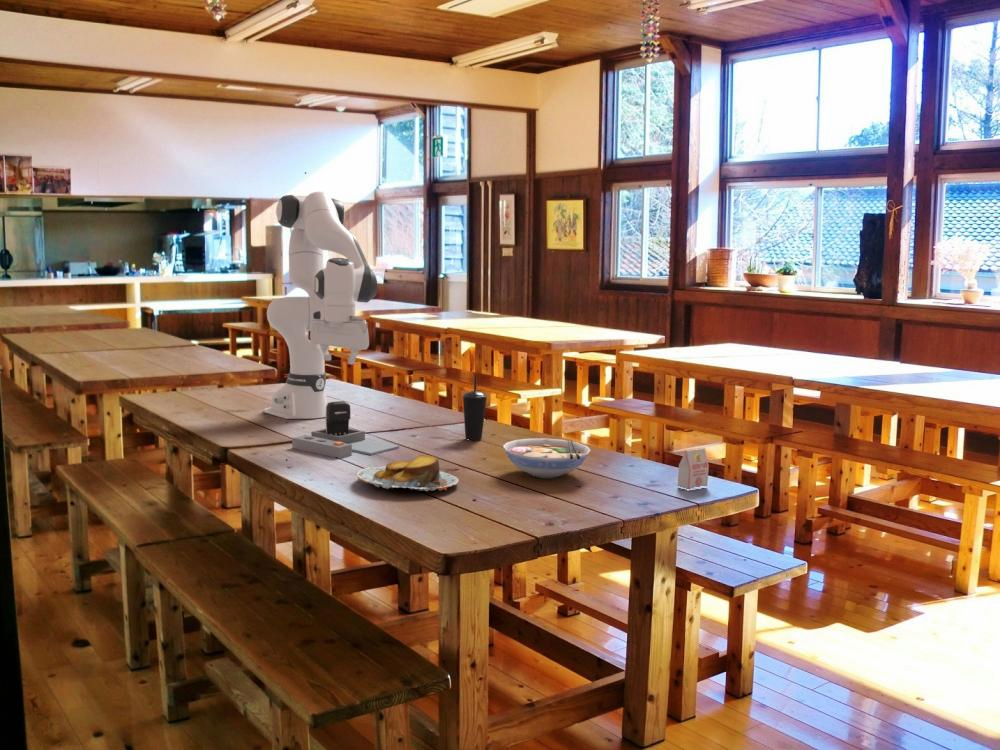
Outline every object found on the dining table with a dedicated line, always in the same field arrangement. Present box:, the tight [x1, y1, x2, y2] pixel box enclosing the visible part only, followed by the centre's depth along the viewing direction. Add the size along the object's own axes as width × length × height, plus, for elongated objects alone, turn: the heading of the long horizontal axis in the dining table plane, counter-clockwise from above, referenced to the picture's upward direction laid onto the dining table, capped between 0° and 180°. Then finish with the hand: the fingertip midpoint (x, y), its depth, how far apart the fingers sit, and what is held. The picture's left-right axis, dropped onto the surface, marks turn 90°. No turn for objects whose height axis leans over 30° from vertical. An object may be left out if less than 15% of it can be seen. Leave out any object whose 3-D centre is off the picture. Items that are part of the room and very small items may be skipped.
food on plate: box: [355, 454, 460, 492], centre depth 238 cm, size 26×25×7 cm
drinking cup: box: [461, 373, 488, 441], centre depth 291 cm, size 8×8×20 cm
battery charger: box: [325, 400, 351, 436], centre depth 284 cm, size 7×4×11 cm, turn 120°
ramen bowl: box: [502, 437, 591, 479], centre depth 252 cm, size 25×23×8 cm
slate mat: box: [351, 439, 400, 456], centre depth 276 cm, size 12×12×1 cm
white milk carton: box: [677, 448, 710, 489], centre depth 244 cm, size 4×7×10 cm, turn 123°
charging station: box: [291, 427, 366, 459], centre depth 277 cm, size 22×22×4 cm
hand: (339, 362), depth 282 cm, fingers open, 8 cm apart
